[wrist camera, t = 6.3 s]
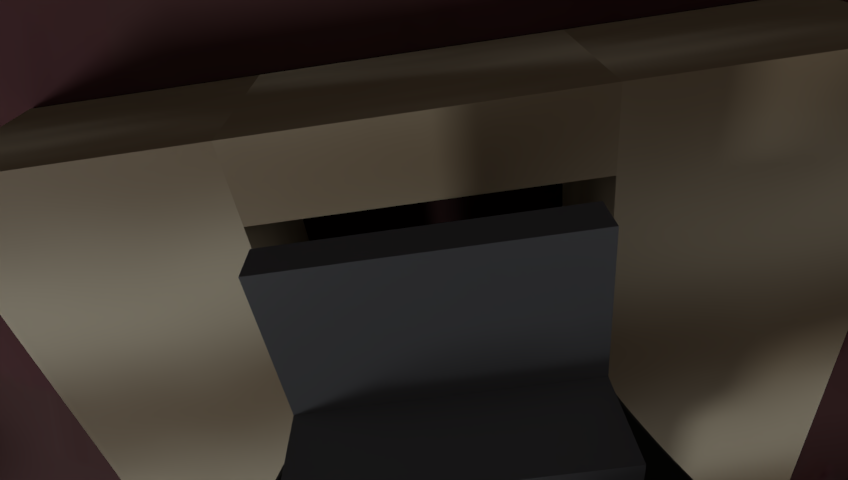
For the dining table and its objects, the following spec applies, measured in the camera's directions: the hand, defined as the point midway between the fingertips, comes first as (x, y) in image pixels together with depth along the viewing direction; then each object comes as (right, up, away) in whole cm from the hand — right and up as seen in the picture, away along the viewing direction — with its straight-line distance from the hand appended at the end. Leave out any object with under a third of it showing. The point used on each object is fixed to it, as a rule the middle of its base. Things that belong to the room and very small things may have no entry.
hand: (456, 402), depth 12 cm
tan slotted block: (0, +3, +4) cm, 5 cm away
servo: (0, +1, +1) cm, 2 cm away
